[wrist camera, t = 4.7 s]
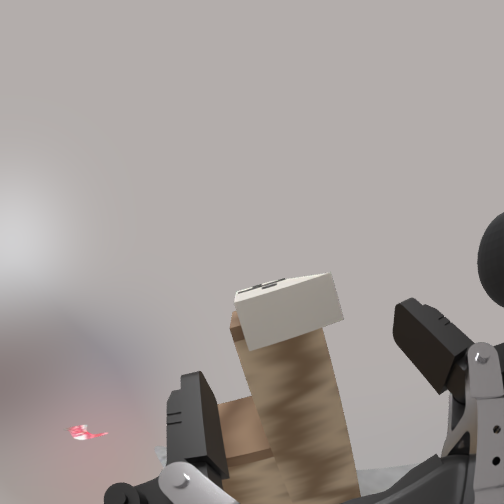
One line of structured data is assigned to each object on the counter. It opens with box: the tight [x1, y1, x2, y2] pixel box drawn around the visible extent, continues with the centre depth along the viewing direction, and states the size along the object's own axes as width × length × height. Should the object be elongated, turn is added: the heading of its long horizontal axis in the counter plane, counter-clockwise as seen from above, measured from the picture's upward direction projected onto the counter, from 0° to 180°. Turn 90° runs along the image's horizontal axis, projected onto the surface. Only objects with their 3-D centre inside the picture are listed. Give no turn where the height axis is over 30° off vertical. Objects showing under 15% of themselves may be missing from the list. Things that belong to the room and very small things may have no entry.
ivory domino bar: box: [234, 272, 344, 351], centre depth 21 cm, size 4×20×2 cm, turn 3°
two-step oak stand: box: [218, 311, 361, 504], centre depth 23 cm, size 13×12×32 cm
